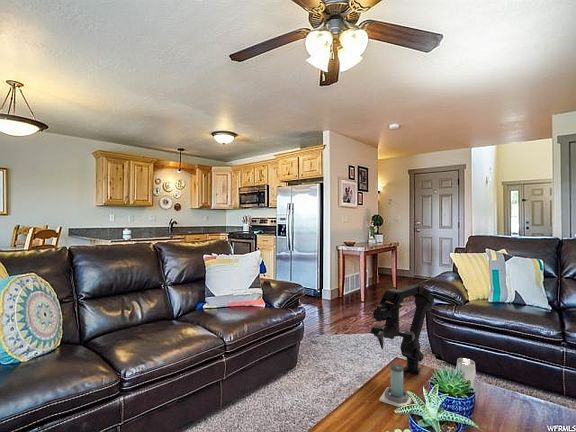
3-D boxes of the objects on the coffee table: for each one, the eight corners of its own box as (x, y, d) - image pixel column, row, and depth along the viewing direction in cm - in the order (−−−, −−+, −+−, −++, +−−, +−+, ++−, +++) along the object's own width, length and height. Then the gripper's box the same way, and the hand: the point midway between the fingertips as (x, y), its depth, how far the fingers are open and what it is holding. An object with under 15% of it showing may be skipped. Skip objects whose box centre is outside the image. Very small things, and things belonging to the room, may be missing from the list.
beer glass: (462, 390, 141) (462, 356, 141) (478, 398, 135) (478, 362, 135) (453, 395, 137) (453, 360, 137) (469, 403, 131) (469, 366, 131)
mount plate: (387, 388, 143) (387, 383, 143) (413, 396, 137) (413, 390, 137) (379, 400, 133) (379, 395, 133) (407, 409, 127) (407, 403, 127)
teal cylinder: (392, 392, 138) (392, 362, 138) (404, 395, 136) (404, 365, 136) (389, 397, 134) (389, 367, 134) (401, 401, 132) (401, 370, 131)
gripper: (367, 318, 149) (366, 352, 149) (409, 326, 139) (409, 362, 139) (374, 312, 158) (374, 344, 158) (415, 319, 148) (414, 353, 148)
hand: (392, 351), depth 151 cm, fingers open, 9 cm apart
